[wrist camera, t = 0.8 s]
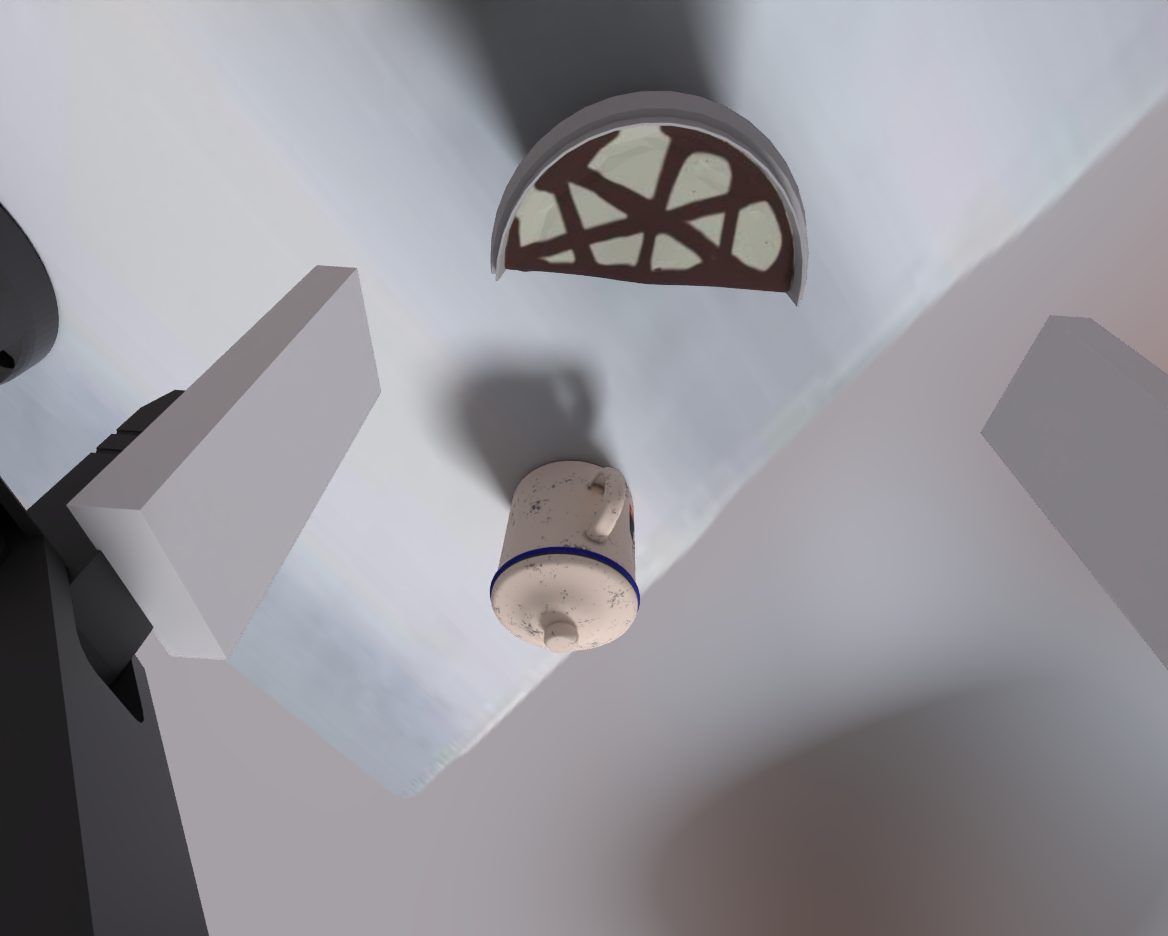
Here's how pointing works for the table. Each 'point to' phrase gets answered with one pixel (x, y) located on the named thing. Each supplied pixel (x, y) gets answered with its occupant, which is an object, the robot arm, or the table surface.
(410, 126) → the table surface
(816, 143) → the table surface
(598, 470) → the teacup with lid
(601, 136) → the food container
